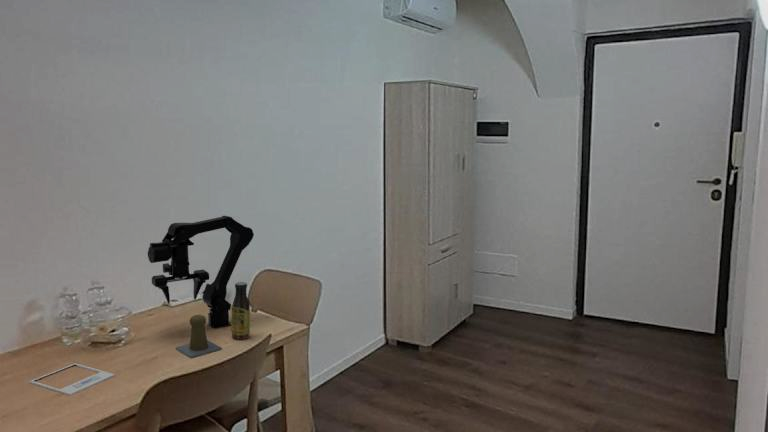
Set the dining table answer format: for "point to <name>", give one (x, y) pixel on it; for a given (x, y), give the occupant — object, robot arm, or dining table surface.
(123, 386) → the dining table surface
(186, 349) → the slate coaster
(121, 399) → the dining table surface
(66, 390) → the photo frame
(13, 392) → the dining table surface
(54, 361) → the dining table surface
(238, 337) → the sauce bottle
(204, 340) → the dark olive bulbous piece
